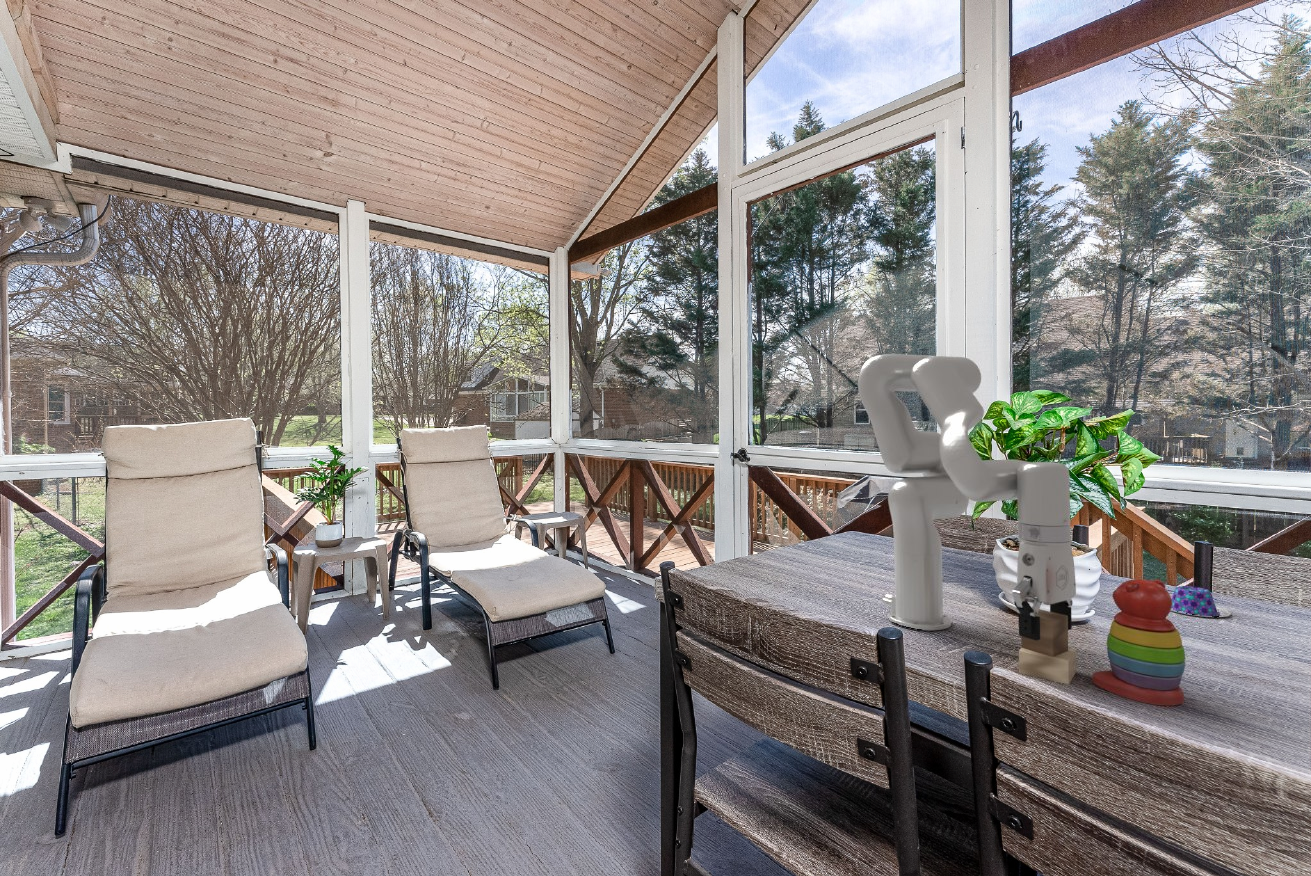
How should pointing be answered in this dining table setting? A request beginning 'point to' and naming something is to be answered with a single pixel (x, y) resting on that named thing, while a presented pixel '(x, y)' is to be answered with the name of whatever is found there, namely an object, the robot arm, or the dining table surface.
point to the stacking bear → (1144, 646)
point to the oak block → (1048, 665)
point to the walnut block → (1049, 634)
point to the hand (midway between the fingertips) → (1045, 632)
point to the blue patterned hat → (1195, 601)
